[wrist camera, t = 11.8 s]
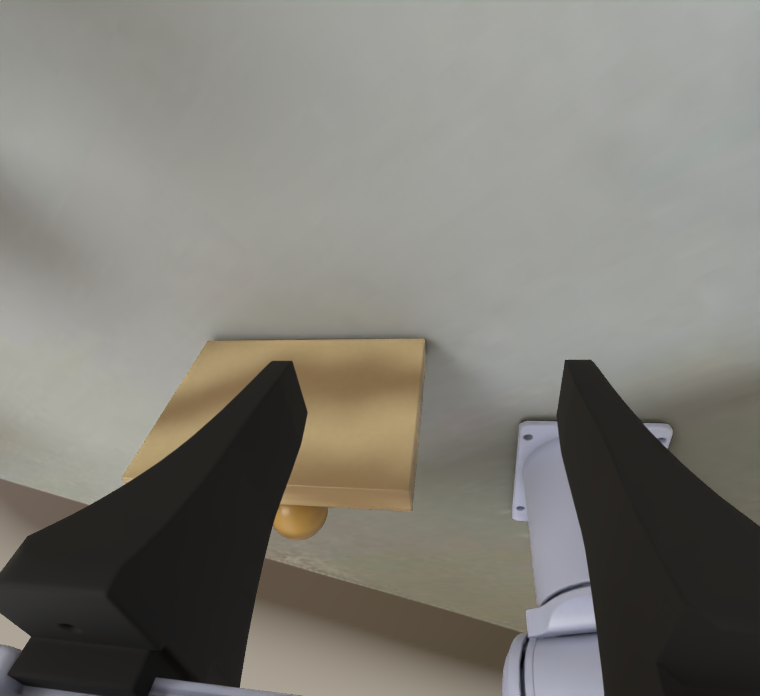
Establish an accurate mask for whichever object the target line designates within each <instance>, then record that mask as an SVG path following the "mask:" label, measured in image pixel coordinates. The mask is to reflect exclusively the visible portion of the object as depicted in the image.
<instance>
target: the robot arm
mask: <svg viewBox="0 0 760 696" xmlns="http://www.w3.org/2000/svg"><path fill="white" fill-rule="evenodd" d="M307 414H308V412H307V408H306V405H305V401H304V398H303V395H302V391H301V388H300V385H299V381H298V378H297V374H296V371H295V368H294V364H293V361H271V362H270V363H269V364H268V365H267V366H266V367H265V368H264V369H263V370H262V371H261V372H260V373H259V374H258V375H257V376H256V377H255V378H254V379H253V380H252V381H251V382H250V383H249V384H248V385H247V386H246V387H245V388H244V389H243V390H242V391H241V392H240V393H239V394H238V395H237V396H236V397H235V398H234V399H232V400H231V401H230V402H229V403H228V404H227V405H226V406H225V407H224V408H223V409H222V410H221V411H220V412H219V413H218V414H217V415H216V416H214V417H213V418H212V419H211V420H210V421H209V422H208V423H207V424H205V425H204V426H203V427H202V428H201V429H200V430H199V431H198V432H196V433H195V434H194V435H193V436H192V437H191V438H189V439H188V440H187V441H186V442H184V443H183V444H182V445H181V446H179V447H178V448H177V449H175V450H174V451H173V452H172V453H170V454H169V455H168V456H166V457H165V458H164V459H162V460H161V461H159V462H158V463H157V464H155V465H154V466H152V467H151V468H149V469H148V470H146V471H145V472H143V473H142V474H140V475H139V476H137V477H136V478H134V479H133V480H131V481H130V482H128V483H127V484H125V485H123V486H122V487H120V488H119V489H117V490H115V491H113V492H112V493H110V494H108V495H107V496H105V497H103V498H102V499H100V500H98V501H96V502H94V503H93V504H91V505H89V506H87V507H85V508H84V509H82V510H80V511H78V512H76V513H74V514H72V515H71V516H68V517H66V518H64V519H62V520H60V521H58V522H56V523H54V524H52V525H50V526H48V527H46V528H44V529H42V530H40V531H38V532H36V533H34V534H31V535H29V536H27V538H26V539H25V540H24V542H23V543H22V544H21V546H20V547H19V548H18V550H17V551H16V552H15V554H14V555H13V556H12V558H11V559H10V560H9V562H8V563H7V564H6V566H5V567H4V568H3V570H2V571H1V572H0V613H1V614H2V615H4V616H5V617H6V618H8V619H9V620H10V621H12V622H13V623H14V624H15V625H17V626H18V627H19V628H21V629H22V630H23V631H25V632H26V633H27V634H29V635H30V636H31V638H30V639H29V641H28V643H27V644H26V646H25V647H24V649H23V650H20V649H17V648H14V647H11V646H7V645H0V696H299V695H292V694H284V693H276V692H268V691H260V690H252V689H244V688H240V682H241V675H242V669H243V663H244V657H245V651H246V645H247V639H248V634H249V629H250V623H251V618H252V613H253V608H254V603H255V598H256V593H257V589H258V584H259V580H260V575H261V570H262V566H263V561H264V558H265V554H266V550H267V546H268V541H269V537H270V533H271V530H272V526H273V523H274V520H275V517H276V514H277V511H278V508H279V505H280V503H281V500H282V497H283V494H284V492H285V489H286V486H287V483H288V480H289V478H290V475H291V472H292V469H293V467H294V464H295V461H296V458H297V455H298V452H299V449H300V446H301V443H302V438H303V434H304V429H305V424H306V419H307ZM527 434H529V435H527ZM672 435H673V430H672V428H671V426H670V425H668V424H664V423H642V422H641V420H640V419H639V418H638V417H637V416H636V415H635V414H634V412H633V411H632V410H631V409H630V408H629V407H628V406H627V404H626V403H625V402H624V401H623V400H622V398H621V397H620V396H619V395H618V393H617V392H616V391H615V390H614V388H613V387H612V386H611V384H610V383H609V382H608V381H607V379H606V378H605V377H604V375H603V374H602V373H601V371H600V370H599V369H598V367H597V366H596V365H595V363H594V362H593V361H592V360H565V364H564V371H563V377H562V384H561V390H560V397H559V404H558V410H557V421H524V422H522V423H521V424H520V425H519V432H518V443H517V455H516V467H515V479H514V491H513V502H512V518H513V519H515V520H517V521H528V526H529V535H530V545H531V554H532V563H533V572H534V581H535V590H536V599H537V606H538V607H537V608H534V609H529V610H526V620H527V631H528V633H522V634H519V635H518V636H516V637H515V639H514V640H513V642H512V645H511V647H510V651H509V652H508V654H507V657H506V660H505V664H504V671H503V696H760V526H759V525H757V524H756V523H754V522H753V521H752V520H750V519H749V518H748V517H747V516H745V515H744V514H743V513H741V512H740V511H739V510H737V509H736V508H735V507H733V506H732V505H731V504H729V503H728V502H727V501H725V500H724V499H723V498H722V497H720V496H719V495H718V494H717V493H715V492H714V491H713V490H712V489H711V488H709V487H708V486H707V485H706V484H705V483H703V482H702V481H701V480H700V479H699V478H698V477H697V476H695V475H694V474H693V473H692V472H691V471H690V470H689V469H688V468H687V467H685V466H684V465H683V464H682V463H681V462H680V461H679V460H678V459H677V458H676V457H675V456H674V455H673V454H672V453H671V452H670V451H669V450H668V446H669V443H670V441H671V438H672Z"/></svg>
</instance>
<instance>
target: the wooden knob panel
mask: <svg viewBox="0 0 760 696" xmlns="http://www.w3.org/2000/svg"><path fill="white" fill-rule="evenodd" d="M271 361H293V364H294V368H295V371H296V374H297V378H298V381H299V385H300V388H301V391H302V395H303V398H304V401H305V405H306V408H307V412H308V414H307V419H306V424H305V429H304V434H303V438H302V443H301V446H300V449H299V452H298V455H297V458H296V461H295V464H294V467H293V469H292V472H291V475H290V478H289V480H288V483H287V486H286V489H285V492H284V494H283V497H282V500H281V503H280V505H279V508H278V511H277V514H276V517H275V520H274V523H273V527H274V528H275V530H276V531H277V532H278V533H279V534H280V535H282V536H283V537H285V538H287V539H291V540H304V539H307V538H309V537H311V536H313V535H315V534H316V533H317V532H318V531H319V530H320V529H321V528H322V526H323V524H324V523H325V520H326V517H327V513H328V507H339V508H358V509H377V510H396V511H412V510H413V499H414V488H415V477H416V466H417V455H418V444H419V433H420V422H421V411H422V400H423V389H424V378H425V367H426V349H425V339H424V338H422V339H329V340H235V341H207V343H206V344H205V346H204V348H203V349H202V351H201V352H200V354H199V356H198V357H197V359H196V360H195V362H194V364H193V365H192V367H191V368H190V370H189V371H188V373H187V375H186V376H185V378H184V379H183V381H182V383H181V384H180V386H179V387H178V389H177V391H176V392H175V394H174V395H173V397H172V398H171V400H170V402H169V403H168V405H167V406H166V408H165V410H164V411H163V413H162V414H161V416H160V417H159V419H158V421H157V422H156V424H155V425H154V427H153V429H152V430H151V432H150V433H149V435H148V437H147V438H146V440H145V441H144V443H143V444H142V446H141V448H140V449H139V451H138V452H137V454H136V456H135V457H134V459H133V460H132V462H131V464H130V465H129V467H128V468H127V470H126V471H125V473H124V475H123V476H122V479H123V480H124V482H125V483H126V484H127V483H128V482H130V481H131V480H133V479H134V478H136V477H137V476H139V475H140V474H142V473H143V472H145V471H146V470H148V469H149V468H151V467H152V466H154V465H155V464H157V463H158V462H159V461H161V460H162V459H164V458H165V457H166V456H168V455H169V454H170V453H172V452H173V451H174V450H175V449H177V448H178V447H179V446H181V445H182V444H183V443H184V442H186V441H187V440H188V439H189V438H191V437H192V436H193V435H194V434H195V433H196V432H198V431H199V430H200V429H201V428H202V427H203V426H204V425H205V424H207V423H208V422H209V421H210V420H211V419H212V418H213V417H214V416H216V415H217V414H218V413H219V412H220V411H221V410H222V409H223V408H224V407H225V406H226V405H227V404H228V403H229V402H230V401H231V400H232V399H234V398H235V397H236V396H237V395H238V394H239V393H240V392H241V391H242V390H243V389H244V388H245V387H246V386H247V385H248V384H249V383H250V382H251V381H252V380H253V379H254V378H255V377H256V376H257V375H258V374H259V373H260V372H261V371H262V370H263V369H264V368H265V367H266V366H267V365H268V364H269V363H270V362H271Z"/></svg>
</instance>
